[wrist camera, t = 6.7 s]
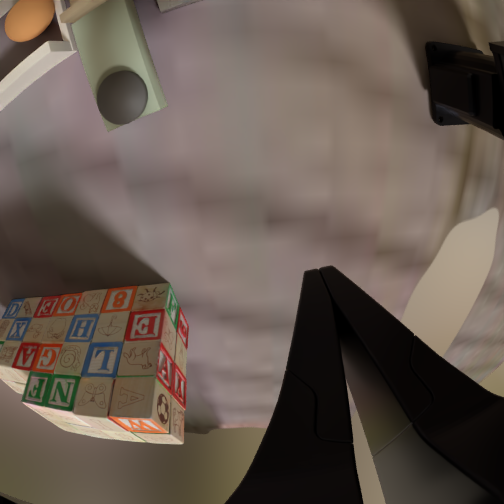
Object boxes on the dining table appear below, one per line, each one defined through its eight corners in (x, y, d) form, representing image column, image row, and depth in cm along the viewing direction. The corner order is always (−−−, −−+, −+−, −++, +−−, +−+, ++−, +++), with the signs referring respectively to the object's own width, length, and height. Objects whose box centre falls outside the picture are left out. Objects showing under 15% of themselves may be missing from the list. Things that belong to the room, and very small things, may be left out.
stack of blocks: (38, 332, 27) (10, 414, 17) (11, 297, 23) (-29, 384, 13) (190, 325, 27) (185, 447, 17) (171, 279, 23) (152, 422, 13)
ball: (-8, 12, 5) (17, 18, 7) (-1, 51, 7) (24, 53, 10) (38, -23, 5) (58, -10, 8) (45, 16, 7) (66, 25, 10)
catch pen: (57, -36, 6) (33, -45, 3) (77, 50, 11) (51, 51, 8) (-22, 33, 7) (-48, 37, 4) (-3, 114, 12) (-29, 126, 9)
